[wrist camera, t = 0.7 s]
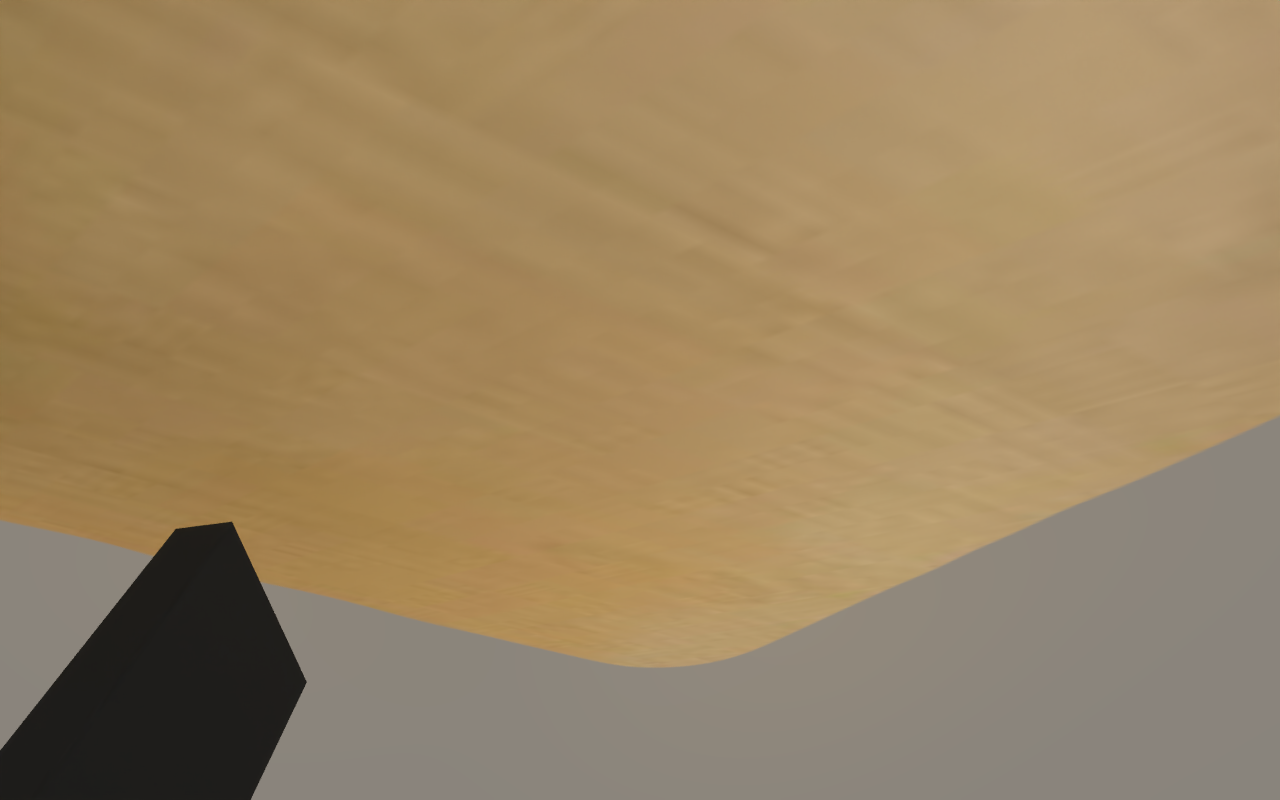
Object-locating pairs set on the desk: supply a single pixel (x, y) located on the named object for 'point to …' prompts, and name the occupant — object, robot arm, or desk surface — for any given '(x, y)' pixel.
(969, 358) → the desk surface
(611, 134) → the desk surface
